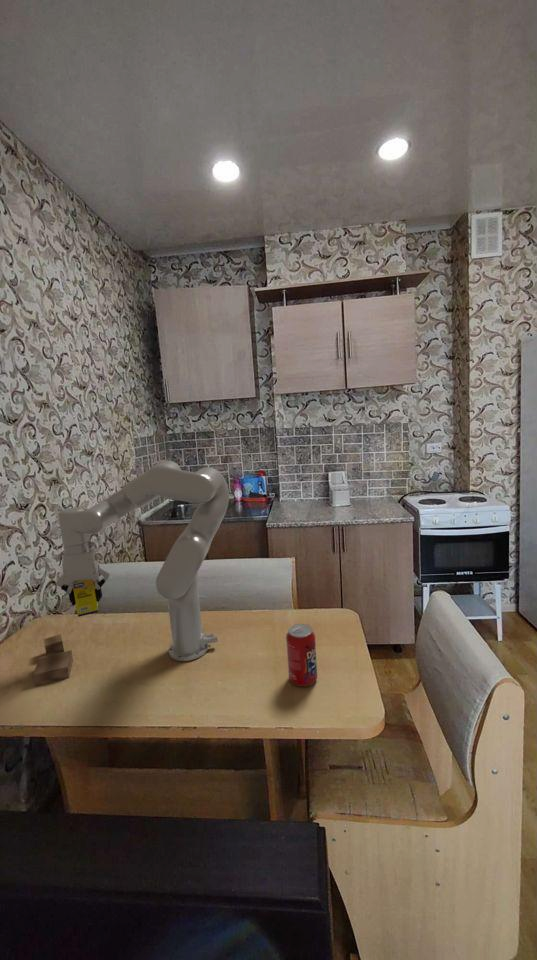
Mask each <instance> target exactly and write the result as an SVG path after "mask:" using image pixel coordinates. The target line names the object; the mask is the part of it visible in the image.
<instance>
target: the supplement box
mask: <svg viewBox="0 0 537 960" xmlns="http://www.w3.org/2000/svg"><path fill="white" fill-rule="evenodd" d="M72 585H73V591H74V596H75V602H76V604H75V606H76V612H77V617H79V618H81V617H85V616H87V615H92V614H96V613H98V612H99V602H97V601H96V595H95V589H96V588H95V586H94V582H93V580H87V581H81V582H74V583H73V584H72Z"/></svg>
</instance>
